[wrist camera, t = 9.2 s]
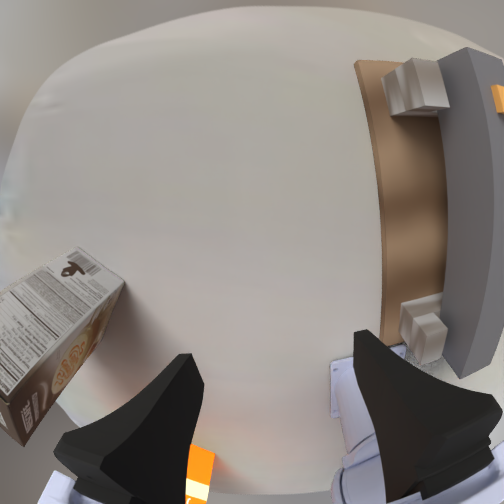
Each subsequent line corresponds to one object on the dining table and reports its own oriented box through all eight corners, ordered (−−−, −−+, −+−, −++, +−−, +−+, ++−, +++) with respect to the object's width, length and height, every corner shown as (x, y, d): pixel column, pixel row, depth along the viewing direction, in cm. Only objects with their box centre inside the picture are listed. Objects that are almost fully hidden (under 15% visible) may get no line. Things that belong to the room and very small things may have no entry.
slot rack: (471, 312, 21) (501, 341, 16) (379, 341, 23) (401, 383, 17) (465, 76, 14) (506, 65, 8) (353, 64, 15) (383, 33, 10)
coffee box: (103, 342, 25) (25, 451, 9) (60, 308, 24) (-30, 396, 9) (127, 280, 22) (7, 408, 7) (75, 241, 21) (-58, 327, 6)
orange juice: (192, 465, 33) (170, 562, 14) (144, 443, 32) (108, 541, 13) (215, 453, 31) (195, 568, 12) (161, 428, 29) (121, 547, 10)
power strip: (463, 332, 18) (493, 368, 13) (433, 343, 19) (462, 384, 13) (460, 72, 11) (507, 58, 6) (425, 66, 12) (472, 44, 7)
